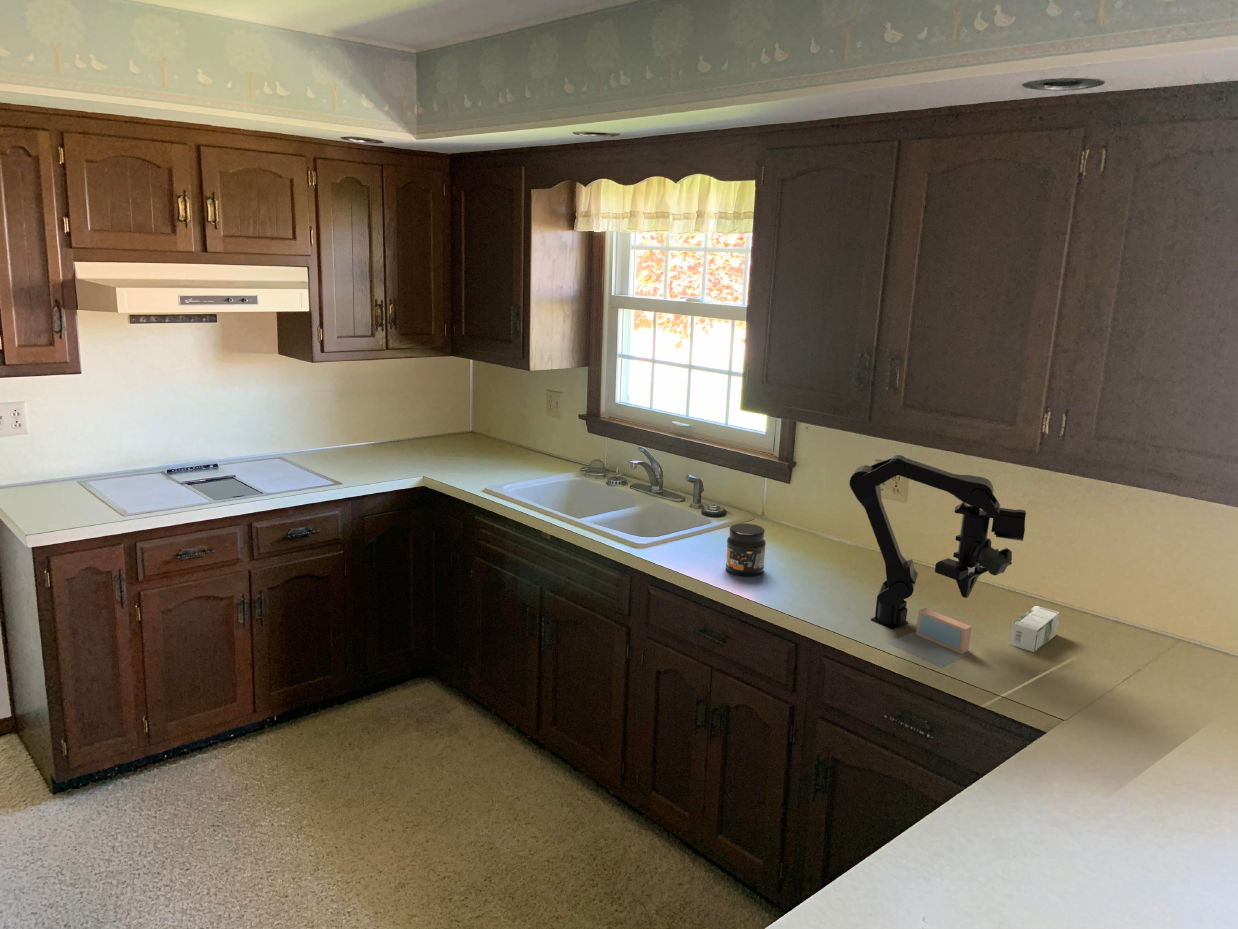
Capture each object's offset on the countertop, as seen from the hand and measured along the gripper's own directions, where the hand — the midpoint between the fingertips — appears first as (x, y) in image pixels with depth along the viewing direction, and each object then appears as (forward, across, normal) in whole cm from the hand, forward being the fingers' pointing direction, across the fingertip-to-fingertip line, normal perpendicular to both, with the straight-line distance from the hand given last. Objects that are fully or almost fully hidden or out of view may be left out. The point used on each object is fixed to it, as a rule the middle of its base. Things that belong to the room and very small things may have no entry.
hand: (964, 597), depth 209 cm
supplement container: (+10, -13, +58) cm, 60 cm away
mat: (+10, -12, 0) cm, 15 cm away
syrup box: (+7, +5, -12) cm, 15 cm away
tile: (+9, -7, 0) cm, 12 cm away
